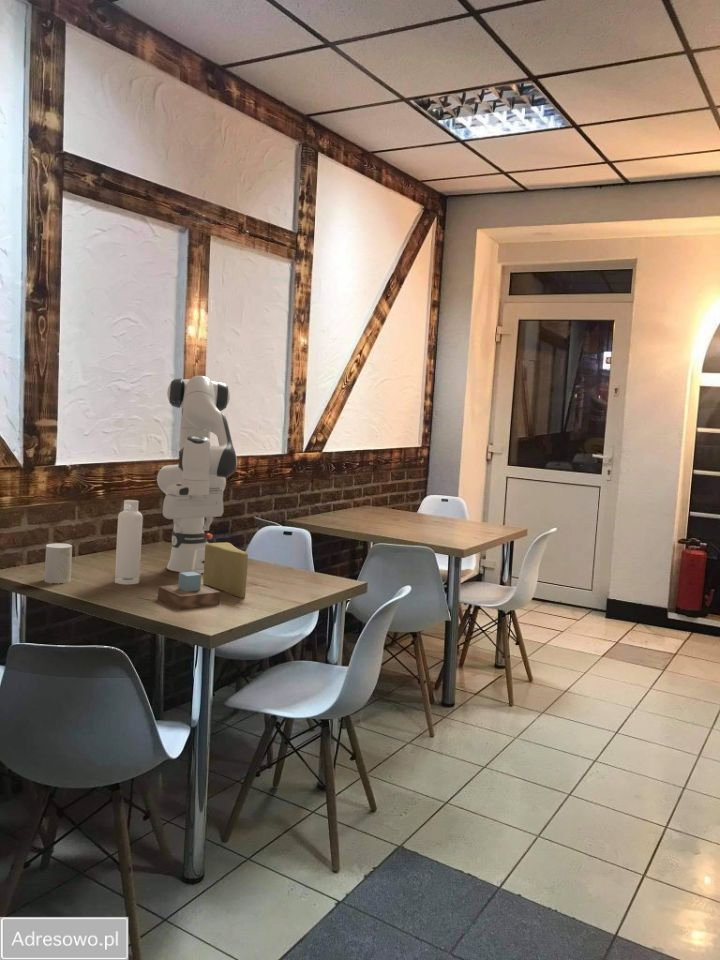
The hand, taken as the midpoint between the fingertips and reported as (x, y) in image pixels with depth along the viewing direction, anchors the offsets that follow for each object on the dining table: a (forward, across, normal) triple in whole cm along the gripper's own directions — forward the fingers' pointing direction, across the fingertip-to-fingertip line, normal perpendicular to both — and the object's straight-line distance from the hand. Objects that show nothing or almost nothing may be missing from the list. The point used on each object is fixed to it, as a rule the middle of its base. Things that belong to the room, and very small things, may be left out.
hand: (192, 531), depth 250 cm
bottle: (+23, +5, -32) cm, 40 cm away
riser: (+22, 0, 0) cm, 23 cm away
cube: (+18, 0, 0) cm, 19 cm away
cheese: (+23, -20, -7) cm, 31 cm away
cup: (+23, +25, -42) cm, 54 cm away
